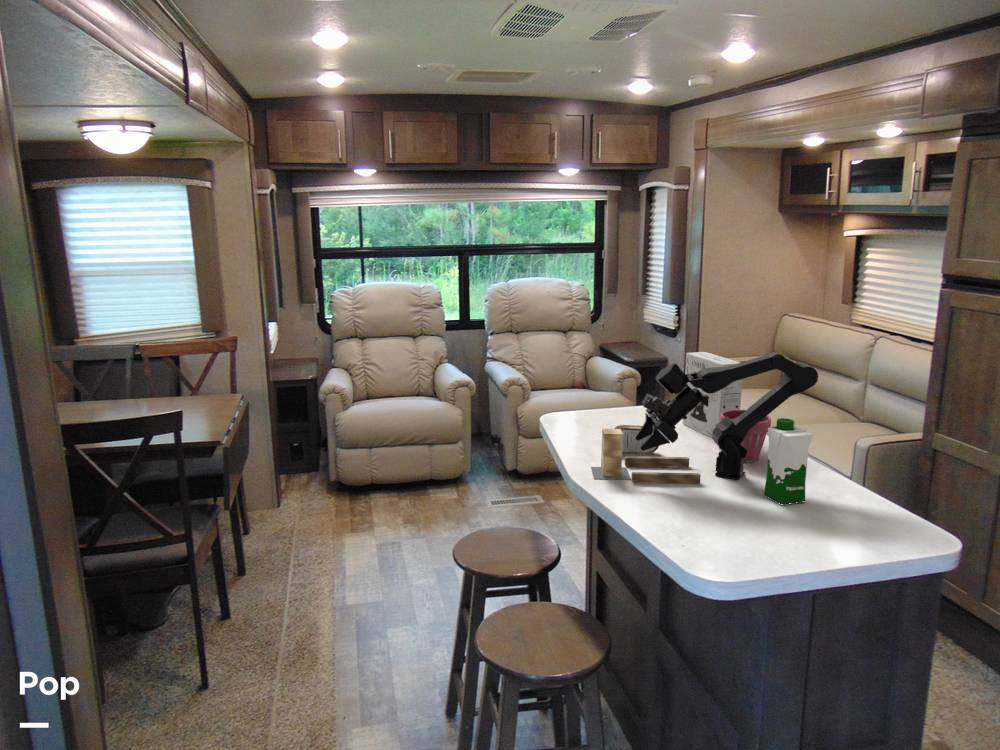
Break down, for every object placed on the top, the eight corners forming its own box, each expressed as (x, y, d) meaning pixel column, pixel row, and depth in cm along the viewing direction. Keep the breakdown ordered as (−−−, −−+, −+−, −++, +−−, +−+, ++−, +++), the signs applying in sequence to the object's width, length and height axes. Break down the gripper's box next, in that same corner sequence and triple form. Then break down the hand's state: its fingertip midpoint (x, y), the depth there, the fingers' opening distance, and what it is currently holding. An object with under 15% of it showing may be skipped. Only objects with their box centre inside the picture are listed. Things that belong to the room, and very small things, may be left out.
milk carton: (787, 491, 191) (794, 416, 187) (811, 503, 183) (818, 426, 179) (758, 494, 189) (764, 419, 185) (781, 507, 180) (788, 428, 176)
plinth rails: (687, 465, 211) (688, 457, 210) (700, 483, 196) (700, 475, 196) (624, 464, 211) (625, 456, 211) (632, 482, 197) (632, 473, 196)
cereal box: (681, 423, 254) (686, 352, 249) (701, 422, 257) (705, 351, 252) (717, 441, 234) (723, 364, 229) (738, 439, 236) (744, 363, 231)
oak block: (618, 470, 206) (620, 428, 204) (621, 476, 201) (622, 434, 199) (600, 469, 206) (602, 428, 204) (602, 475, 202) (604, 433, 199)
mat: (626, 467, 209) (626, 467, 209) (631, 479, 199) (631, 479, 199) (590, 467, 209) (590, 466, 209) (594, 479, 199) (594, 478, 199)
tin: (659, 452, 223) (660, 425, 221) (660, 455, 220) (661, 428, 218) (608, 450, 225) (609, 423, 223) (609, 453, 222) (610, 426, 220)
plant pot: (760, 468, 209) (763, 424, 207) (711, 459, 217) (714, 417, 214) (773, 455, 221) (776, 413, 218) (726, 447, 228) (729, 407, 226)
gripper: (654, 377, 208) (614, 415, 210) (667, 392, 189) (623, 433, 192) (681, 404, 209) (641, 442, 212) (696, 422, 191) (652, 462, 193)
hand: (638, 444), depth 202 cm, fingers open, 9 cm apart
